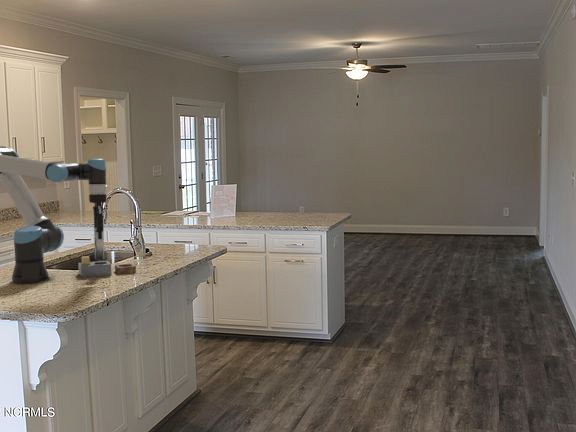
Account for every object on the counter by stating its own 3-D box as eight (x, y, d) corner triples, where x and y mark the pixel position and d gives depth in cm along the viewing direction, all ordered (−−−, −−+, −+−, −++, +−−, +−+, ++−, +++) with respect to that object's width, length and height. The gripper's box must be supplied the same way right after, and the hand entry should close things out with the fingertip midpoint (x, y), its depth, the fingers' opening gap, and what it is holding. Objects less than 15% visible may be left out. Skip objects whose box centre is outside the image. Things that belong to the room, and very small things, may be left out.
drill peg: (95, 260, 299) (94, 228, 298) (94, 258, 303) (93, 227, 301) (104, 259, 301) (103, 228, 299) (103, 258, 305) (102, 227, 303)
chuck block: (81, 280, 295) (80, 266, 294) (78, 276, 304) (78, 262, 303) (111, 277, 300) (111, 264, 299) (108, 273, 309) (107, 260, 308)
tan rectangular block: (83, 273, 298) (82, 257, 297) (82, 272, 301) (81, 256, 300) (90, 272, 299) (89, 257, 298) (89, 271, 302) (88, 256, 301)
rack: (117, 276, 301) (116, 267, 301) (114, 273, 309) (113, 264, 309) (137, 275, 305) (137, 266, 304) (133, 271, 313) (133, 263, 312)
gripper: (109, 194, 292) (110, 247, 295) (103, 192, 308) (105, 242, 311) (91, 195, 289) (93, 248, 292) (86, 192, 305) (88, 243, 308)
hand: (99, 245), depth 301 cm, fingers closed on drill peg, 4 cm apart
